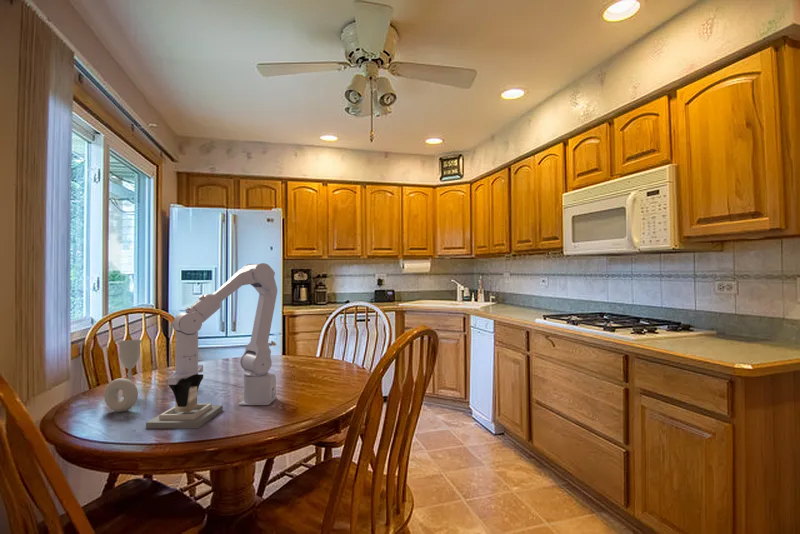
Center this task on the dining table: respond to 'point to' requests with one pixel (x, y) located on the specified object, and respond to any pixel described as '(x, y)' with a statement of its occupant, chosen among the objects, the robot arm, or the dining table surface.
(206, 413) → the base
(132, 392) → the donut
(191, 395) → the block
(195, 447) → the dining table surface
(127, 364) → the chalice
